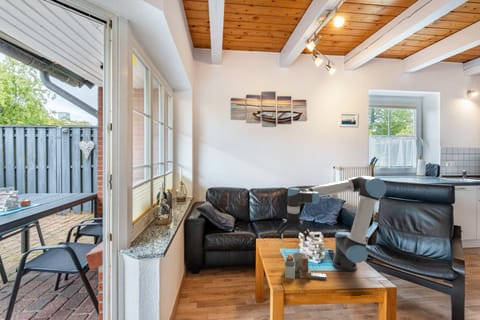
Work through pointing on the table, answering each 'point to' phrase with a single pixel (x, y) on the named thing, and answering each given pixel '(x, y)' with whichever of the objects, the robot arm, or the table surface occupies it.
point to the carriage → (305, 268)
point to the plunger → (289, 257)
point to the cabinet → (289, 268)
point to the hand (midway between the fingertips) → (292, 245)
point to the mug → (298, 260)
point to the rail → (313, 275)
